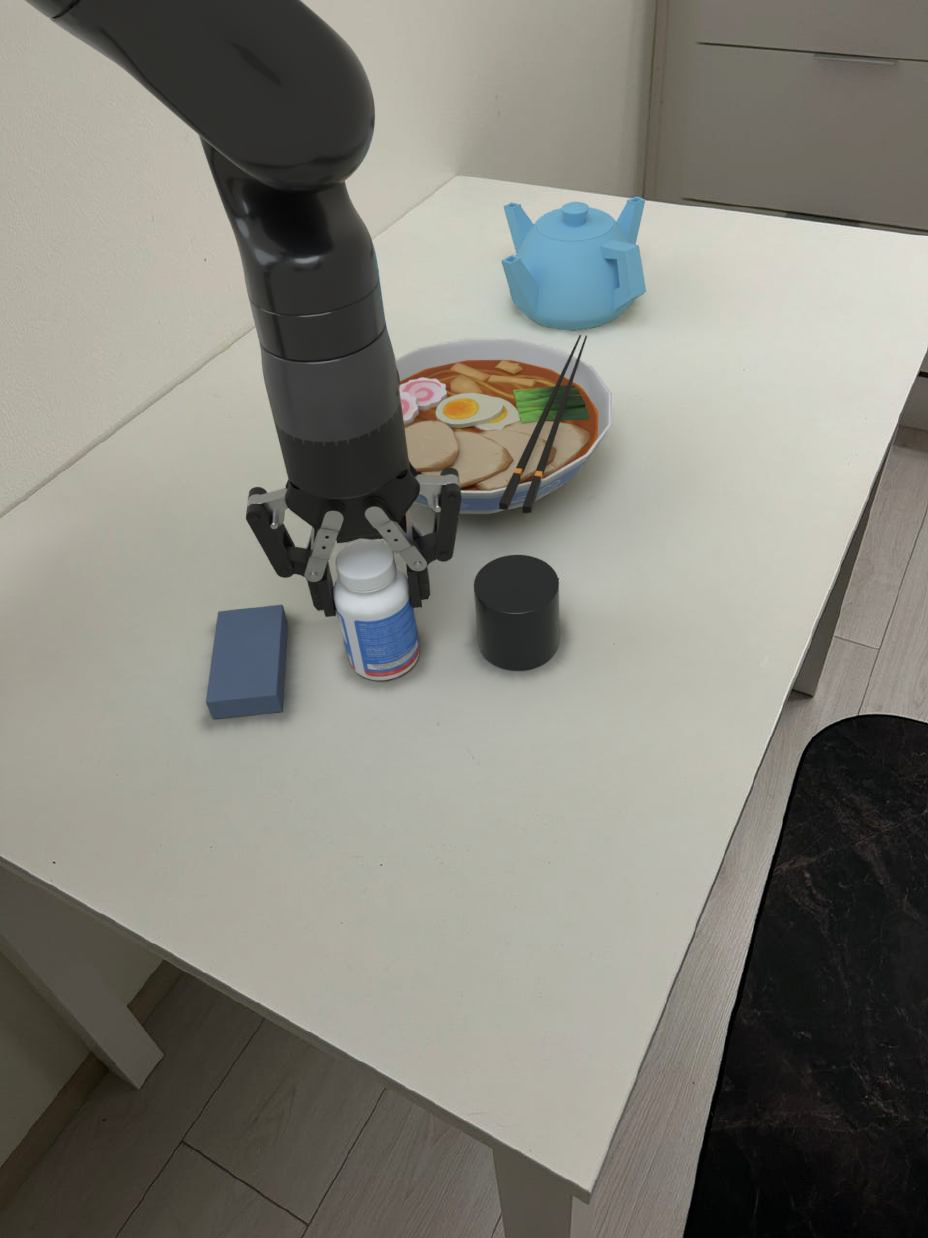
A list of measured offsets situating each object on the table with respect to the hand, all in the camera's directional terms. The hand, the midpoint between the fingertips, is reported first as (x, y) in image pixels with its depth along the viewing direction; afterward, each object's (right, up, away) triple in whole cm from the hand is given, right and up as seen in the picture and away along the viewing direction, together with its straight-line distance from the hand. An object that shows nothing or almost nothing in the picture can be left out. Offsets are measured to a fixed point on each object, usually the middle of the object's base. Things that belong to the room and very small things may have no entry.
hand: (374, 603), depth 68 cm
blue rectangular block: (-9, -5, +4) cm, 11 cm away
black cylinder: (+10, -3, +4) cm, 11 cm away
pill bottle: (0, -4, +4) cm, 6 cm away
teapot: (+18, +34, +39) cm, 54 cm away
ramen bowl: (+8, +11, +18) cm, 23 cm away
